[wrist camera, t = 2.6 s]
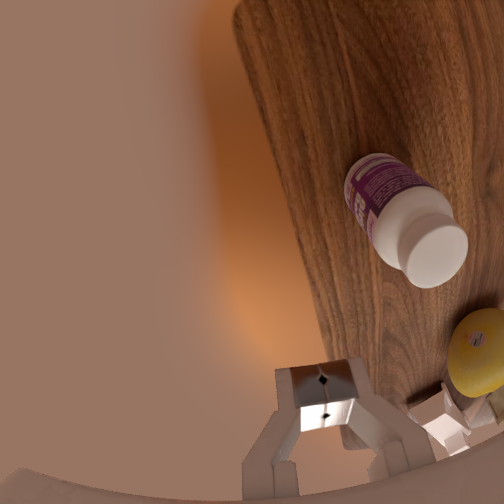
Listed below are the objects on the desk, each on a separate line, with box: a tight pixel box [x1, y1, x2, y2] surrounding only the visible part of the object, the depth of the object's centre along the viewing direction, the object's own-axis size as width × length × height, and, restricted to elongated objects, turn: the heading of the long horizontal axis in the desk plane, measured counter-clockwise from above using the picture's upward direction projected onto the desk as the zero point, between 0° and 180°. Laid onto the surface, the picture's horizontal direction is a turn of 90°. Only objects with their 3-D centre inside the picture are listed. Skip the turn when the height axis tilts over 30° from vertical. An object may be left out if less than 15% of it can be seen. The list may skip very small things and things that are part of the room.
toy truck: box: [405, 382, 471, 456], centre depth 41 cm, size 25×7×9 cm, turn 43°
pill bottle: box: [344, 153, 468, 288], centre depth 18 cm, size 5×5×10 cm
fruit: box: [447, 308, 504, 398], centre depth 28 cm, size 10×11×10 cm
